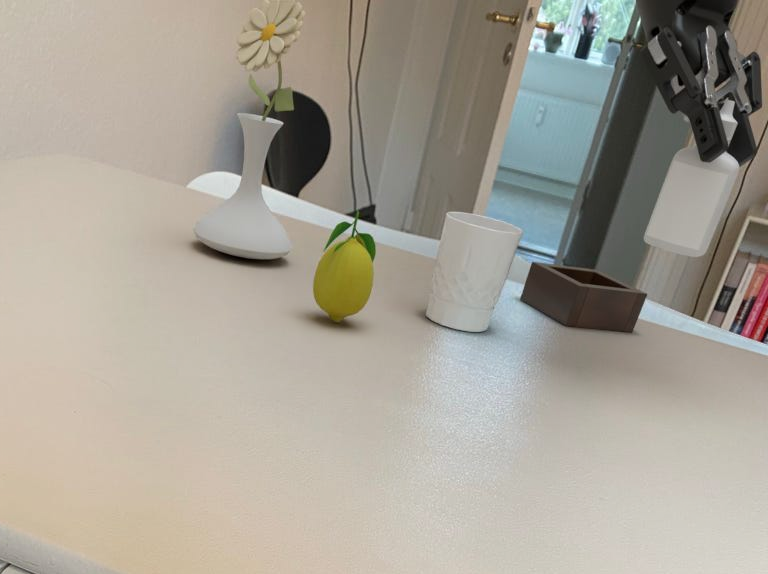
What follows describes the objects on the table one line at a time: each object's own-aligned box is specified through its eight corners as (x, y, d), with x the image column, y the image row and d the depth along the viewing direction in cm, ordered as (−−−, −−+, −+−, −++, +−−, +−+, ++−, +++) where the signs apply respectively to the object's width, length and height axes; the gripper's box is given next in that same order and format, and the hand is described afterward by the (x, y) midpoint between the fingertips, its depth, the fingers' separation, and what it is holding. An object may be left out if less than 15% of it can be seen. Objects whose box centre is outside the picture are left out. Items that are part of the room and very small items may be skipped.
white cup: (409, 306, 98) (434, 207, 92) (473, 314, 101) (501, 218, 95) (437, 330, 92) (466, 225, 86) (504, 338, 95) (537, 236, 89)
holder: (584, 306, 116) (597, 269, 113) (632, 332, 108) (647, 293, 106) (519, 299, 112) (531, 261, 109) (565, 326, 104) (579, 285, 102)
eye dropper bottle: (675, 256, 81) (736, 102, 74) (634, 239, 85) (688, 91, 78) (711, 260, 82) (774, 110, 75) (669, 242, 86) (725, 98, 79)
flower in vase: (181, 235, 106) (209, -25, 92) (272, 246, 110) (313, -1, 96) (208, 266, 97) (245, -20, 83) (307, 277, 101) (358, 7, 87)
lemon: (308, 328, 84) (330, 212, 78) (294, 309, 89) (315, 198, 83) (375, 336, 86) (402, 224, 80) (358, 317, 90) (383, 210, 85)
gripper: (663, -83, 72) (718, 119, 71) (767, -44, 79) (819, 140, 78) (591, -9, 78) (640, 178, 77) (693, 21, 86) (740, 192, 84)
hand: (730, 158), depth 78 cm, fingers closed on eye dropper bottle, 3 cm apart
